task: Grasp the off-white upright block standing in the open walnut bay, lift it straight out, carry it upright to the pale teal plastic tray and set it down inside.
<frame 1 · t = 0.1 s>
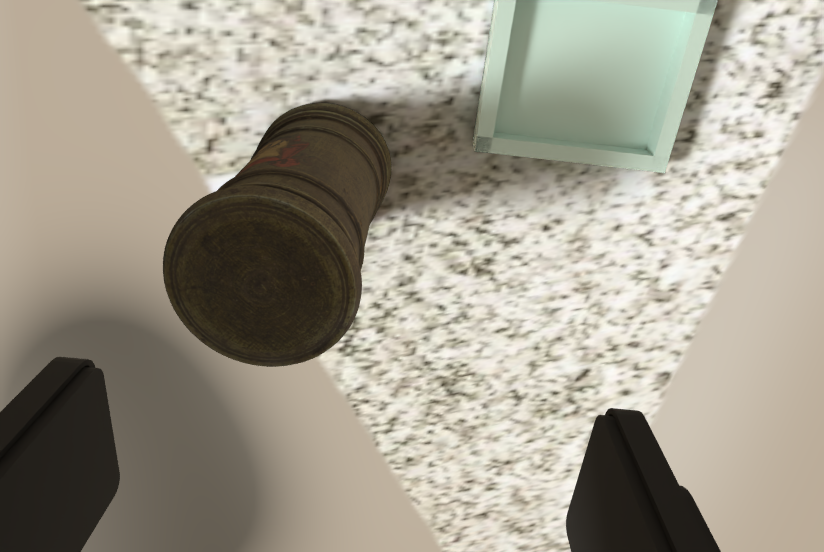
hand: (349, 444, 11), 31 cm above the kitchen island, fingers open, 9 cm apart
container: (325, 166, 41), on the kitchen island
tray: (581, 73, 38), on the kitchen island
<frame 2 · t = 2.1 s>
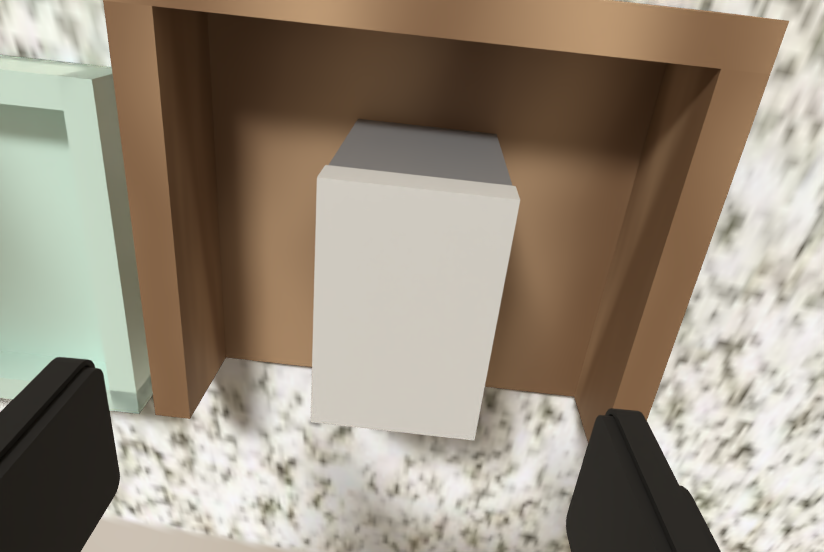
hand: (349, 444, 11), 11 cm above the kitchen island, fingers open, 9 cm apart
off-white upright block: (416, 226, 21), resting on bay
tray: (9, 228, 22), on the kitchen island
bay: (416, 223, 21), on the kitchen island
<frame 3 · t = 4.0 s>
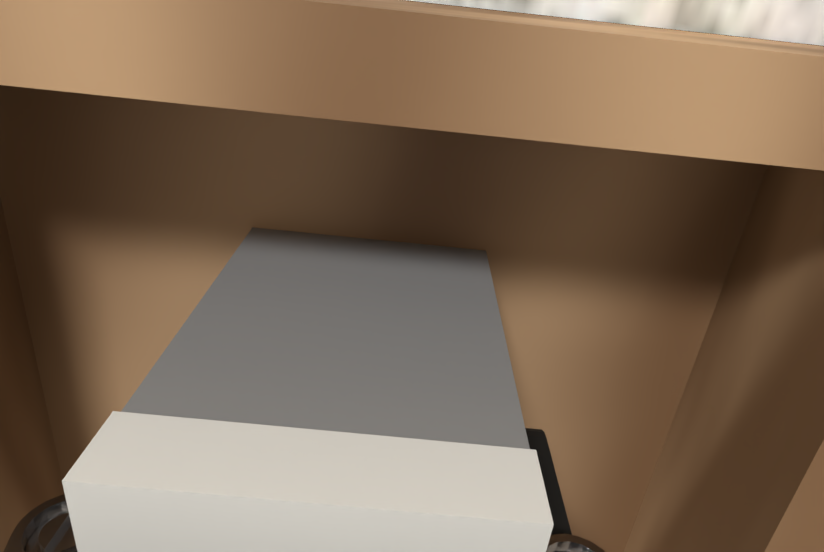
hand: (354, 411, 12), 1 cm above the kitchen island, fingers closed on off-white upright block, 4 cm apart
off-white upright block: (359, 386, 13), resting on bay, touching gripper
bay: (360, 378, 13), on the kitchen island
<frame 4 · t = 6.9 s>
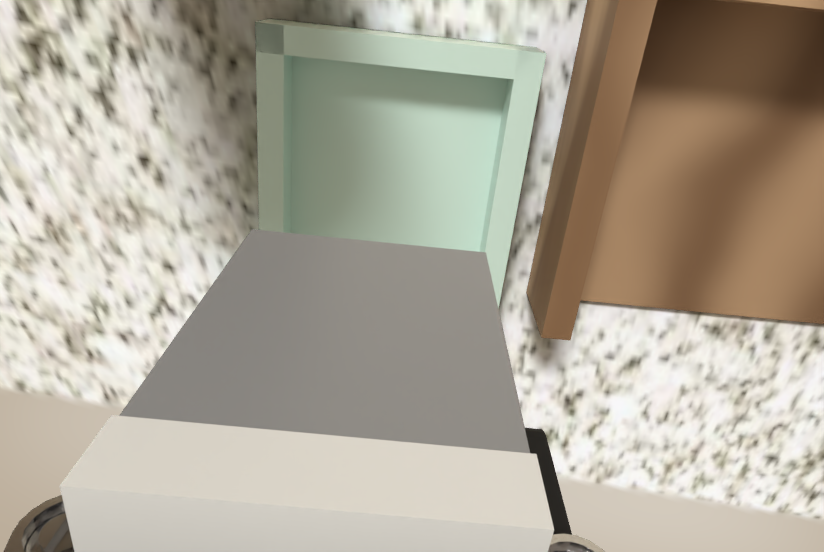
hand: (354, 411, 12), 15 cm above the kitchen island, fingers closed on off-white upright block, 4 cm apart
off-white upright block: (358, 388, 13), point 14 cm above the kitchen island, touching gripper
tray: (390, 185, 26), on the kitchen island
bay: (745, 176, 25), on the kitchen island
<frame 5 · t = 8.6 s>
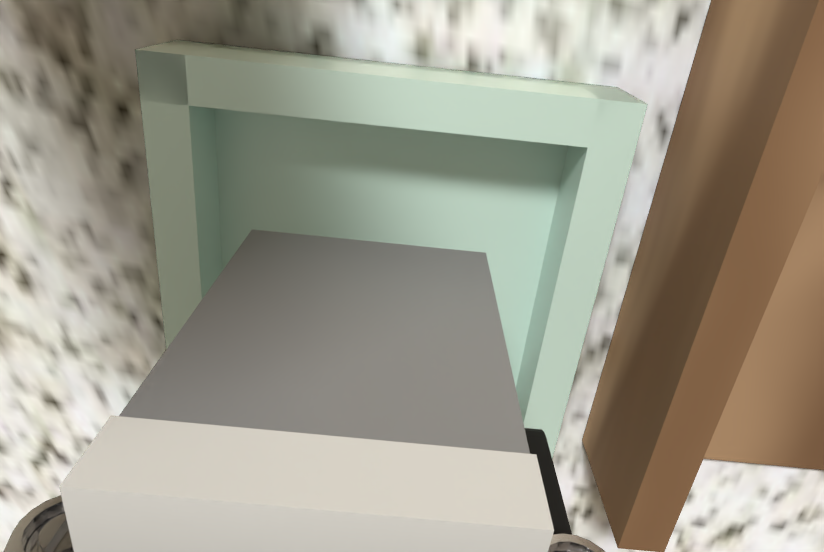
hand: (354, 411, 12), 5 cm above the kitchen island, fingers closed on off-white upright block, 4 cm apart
off-white upright block: (358, 388, 13), point 4 cm above the kitchen island, touching gripper
tray: (379, 294, 17), on the kitchen island
when the fingers open (3 cm above the kitchen island, at t = 9.9 s): off-white upright block drops 1 cm, resting on tray.
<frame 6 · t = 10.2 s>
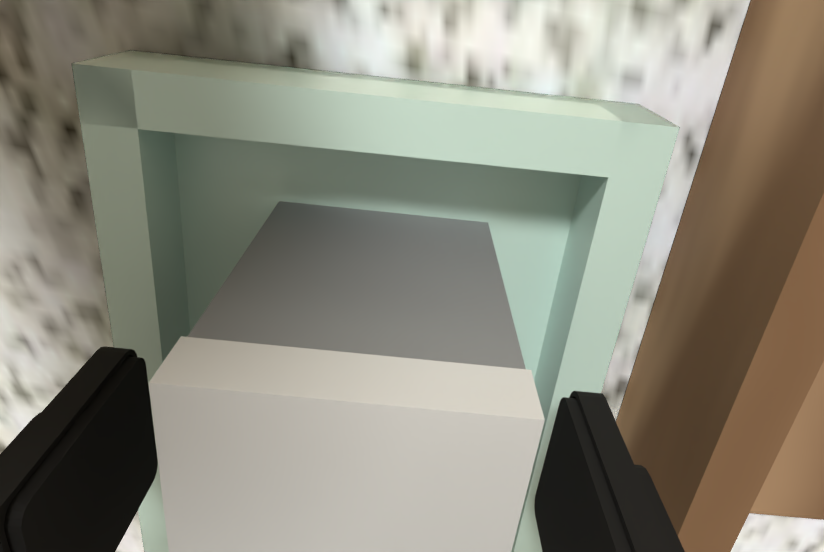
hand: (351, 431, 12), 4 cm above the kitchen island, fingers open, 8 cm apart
off-white upright block: (372, 348, 14), point 1 cm above the kitchen island, touching tray
tray: (367, 335, 15), on the kitchen island
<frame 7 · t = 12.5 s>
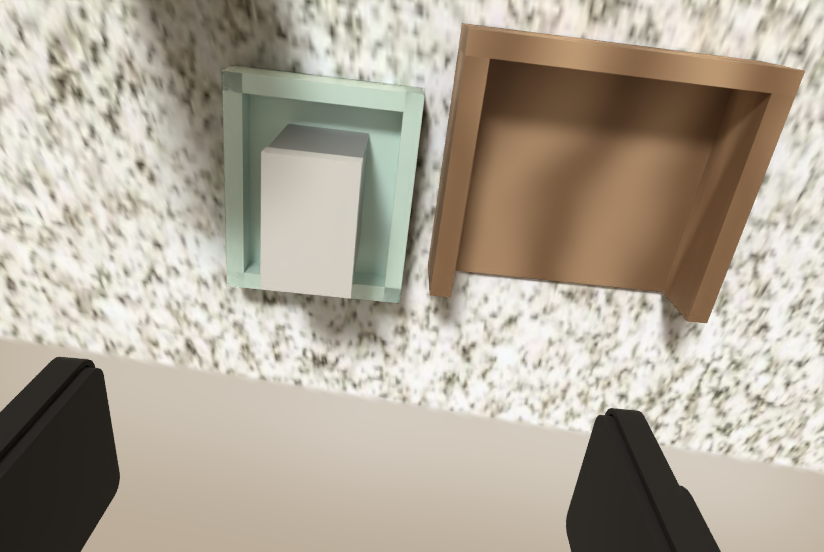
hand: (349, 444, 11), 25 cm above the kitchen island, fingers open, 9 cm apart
off-white upright block: (325, 188, 35), point 1 cm above the kitchen island, touching tray
tray: (323, 185, 35), on the kitchen island
bay: (579, 181, 35), on the kitchen island
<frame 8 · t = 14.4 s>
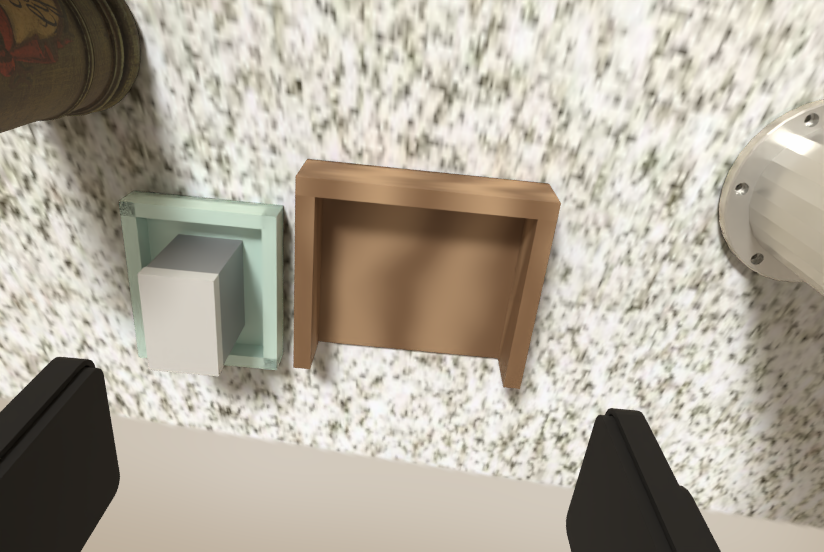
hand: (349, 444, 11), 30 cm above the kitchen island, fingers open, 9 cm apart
off-white upright block: (212, 281, 43), point 1 cm above the kitchen island, touching tray
container: (72, 34, 37), on the kitchen island
tray: (213, 277, 44), on the kitchen island
bay: (417, 273, 43), on the kitchen island
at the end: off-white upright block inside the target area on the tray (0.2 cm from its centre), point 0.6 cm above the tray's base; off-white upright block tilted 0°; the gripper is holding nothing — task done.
